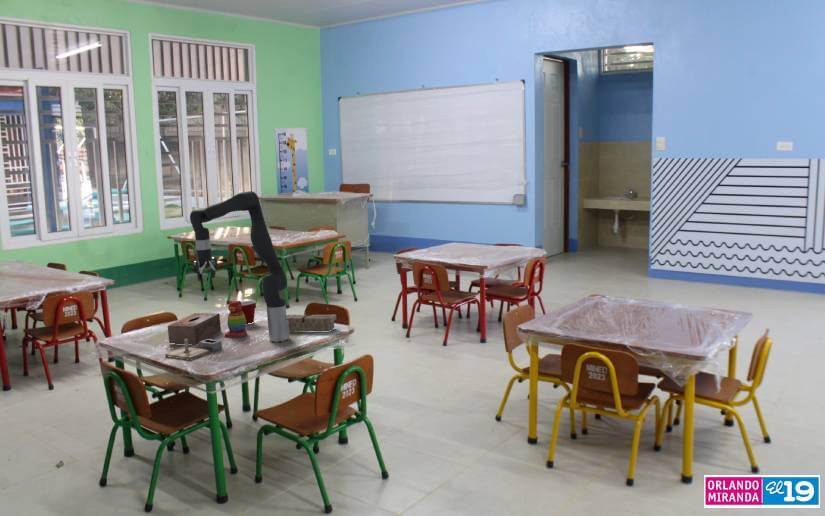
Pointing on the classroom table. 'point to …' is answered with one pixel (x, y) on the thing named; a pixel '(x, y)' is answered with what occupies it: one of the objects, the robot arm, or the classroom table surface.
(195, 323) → the tissue box cover
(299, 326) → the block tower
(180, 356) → the keeper board
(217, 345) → the grey storage bin
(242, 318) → the stacking bear
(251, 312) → the plastic cup
